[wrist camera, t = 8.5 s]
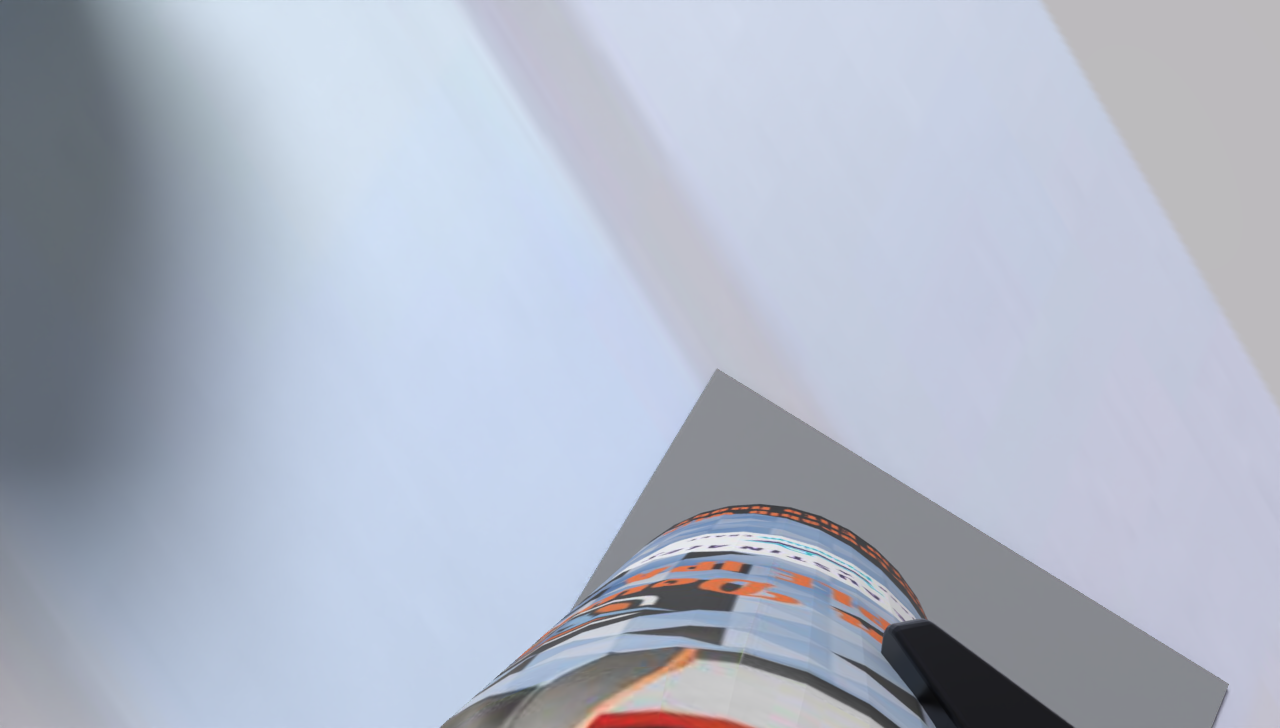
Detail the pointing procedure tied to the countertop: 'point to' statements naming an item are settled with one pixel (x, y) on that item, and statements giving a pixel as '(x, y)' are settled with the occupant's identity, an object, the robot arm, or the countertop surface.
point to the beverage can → (721, 636)
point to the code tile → (922, 564)
